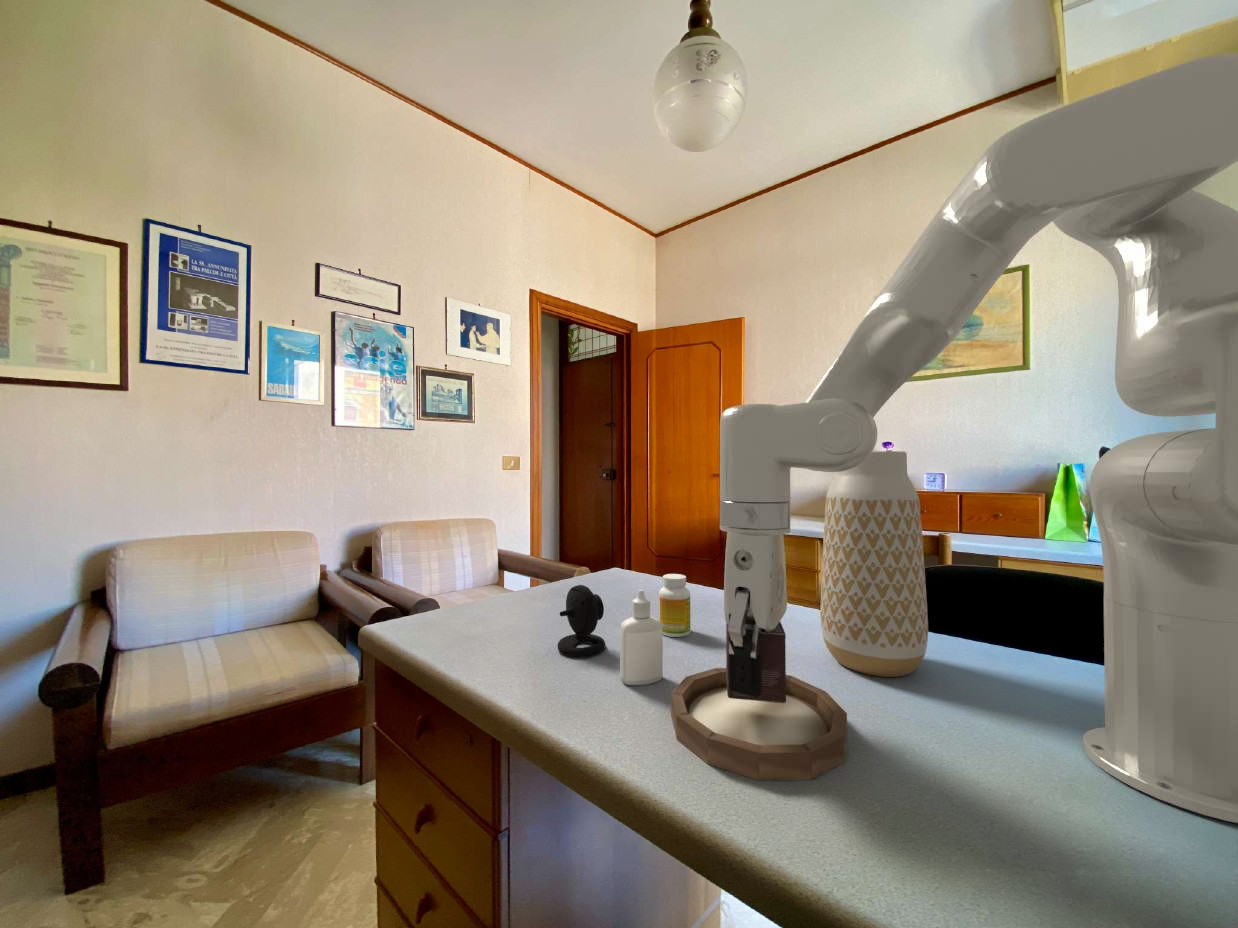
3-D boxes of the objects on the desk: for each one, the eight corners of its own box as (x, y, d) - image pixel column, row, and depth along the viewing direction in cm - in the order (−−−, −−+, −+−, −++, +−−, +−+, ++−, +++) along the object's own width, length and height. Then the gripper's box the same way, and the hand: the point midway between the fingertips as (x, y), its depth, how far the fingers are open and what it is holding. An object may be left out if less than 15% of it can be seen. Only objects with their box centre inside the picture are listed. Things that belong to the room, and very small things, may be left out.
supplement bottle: (692, 638, 78) (692, 579, 78) (660, 637, 78) (660, 579, 78) (688, 627, 84) (688, 572, 84) (658, 626, 84) (657, 572, 84)
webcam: (615, 651, 72) (614, 587, 73) (572, 663, 68) (572, 594, 68) (589, 636, 79) (589, 577, 79) (549, 646, 75) (549, 583, 75)
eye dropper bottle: (660, 689, 60) (659, 595, 60) (617, 684, 61) (617, 593, 61) (664, 674, 64) (663, 587, 64) (624, 670, 66) (623, 585, 66)
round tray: (850, 708, 55) (850, 687, 55) (838, 805, 39) (838, 775, 39) (703, 676, 64) (703, 657, 64) (646, 744, 48) (645, 719, 48)
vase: (908, 695, 58) (906, 449, 59) (803, 661, 69) (802, 452, 69) (941, 664, 67) (939, 451, 68) (844, 638, 78) (842, 454, 78)
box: (786, 705, 48) (786, 634, 48) (726, 699, 49) (726, 630, 49) (779, 679, 54) (779, 615, 54) (726, 674, 55) (725, 612, 55)
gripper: (773, 528, 42) (773, 724, 42) (801, 512, 58) (801, 656, 57) (694, 523, 46) (694, 704, 46) (740, 509, 61) (740, 645, 61)
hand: (754, 676), depth 52 cm, fingers closed on box, 7 cm apart
